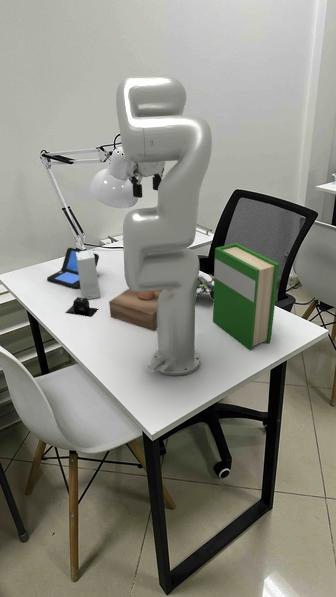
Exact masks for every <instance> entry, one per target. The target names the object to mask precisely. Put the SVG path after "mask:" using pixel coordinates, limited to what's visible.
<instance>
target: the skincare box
mask: <svg viewBox="0 0 336 597" xmlns="http://www.w3.org/2000/svg"><path fill="white" fill-rule="evenodd" d="M76 259H77V267H78V274H79V281H80V287H81V288H80V291H81V295H82V299H83V298H87V299H88V300H94V299H100V298H101V295H100V294H101V293H100V288H99V279H98V278H99V277H98V272H97V267H96V264H95V256H94V252H93V250H92V249H88V250H86V249H85V250H82V251H80V252H76Z"/></svg>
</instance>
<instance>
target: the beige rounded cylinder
mask: <svg viewBox="0 0 336 597" xmlns="http://www.w3.org/2000/svg"><path fill="white" fill-rule="evenodd" d="M154 292H155V291H146V292H138V293H137V296H138V297H139V298H141V299H146V300H149V299H152V298H154Z"/></svg>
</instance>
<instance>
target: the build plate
mask: <svg viewBox="0 0 336 597" xmlns="http://www.w3.org/2000/svg"><path fill="white" fill-rule="evenodd" d="M97 310H98V311H99V308H98V309H97V307H91V308H90V301H89V299H87V298H83V297H79V296H77V297H76V298H75V299H74V300H73V303H72V306H70V308H69V309H67V310H66V311H65V312H64V313H65V314H69V315H75V316H76V315H77V316H81V317H82V316H83V317H89V318H93V317H94V315H95V314H96V313H97V312H98V311H97Z"/></svg>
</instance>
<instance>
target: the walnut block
mask: <svg viewBox="0 0 336 597" xmlns="http://www.w3.org/2000/svg"><path fill="white" fill-rule="evenodd" d="M161 292H162V290H155V292H154V298H152V299H149V300H146V299H141V298H139V297H138V296H137V293H138V292H135V291H132V290H131V289H129V288H128V289H126V290H124V291H123V292H121V293H120V294H118V295H117V296H115V297H114V298H113V299H110V300H109V301H108V303H109V304H108V305H109V312H110V313H109V314H110V315H109V316H110V318H111V319H115V320H118V321H121V322H125V323H128V324H131V325H134V326H137V327H140V328H142V329H147V330H149V331H152V332H153V331H156V330H157V307H156V306H157V300H158V297H159V295H160V293H161Z"/></svg>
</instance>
